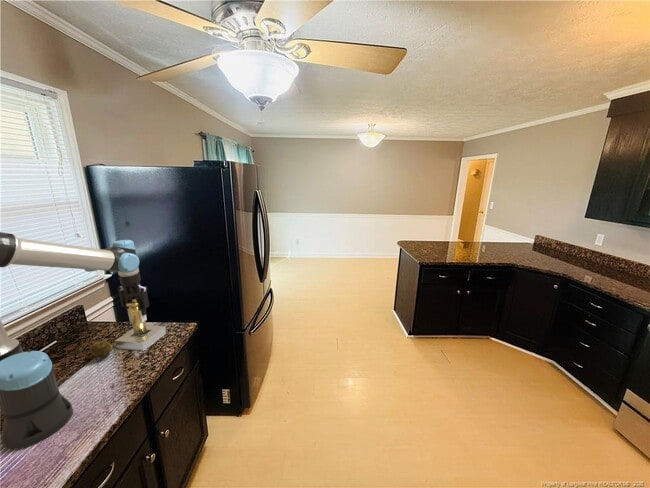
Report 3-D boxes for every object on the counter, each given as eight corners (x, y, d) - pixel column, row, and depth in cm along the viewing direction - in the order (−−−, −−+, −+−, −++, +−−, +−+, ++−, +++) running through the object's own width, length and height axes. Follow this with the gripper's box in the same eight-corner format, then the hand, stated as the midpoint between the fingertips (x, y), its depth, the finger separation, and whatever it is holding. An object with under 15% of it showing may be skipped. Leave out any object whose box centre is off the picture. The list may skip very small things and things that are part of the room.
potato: (117, 344, 123) (114, 329, 121) (111, 360, 112) (107, 344, 110) (95, 350, 119) (91, 334, 118) (86, 367, 108) (82, 350, 107)
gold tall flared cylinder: (141, 336, 122) (135, 305, 118) (129, 336, 122) (122, 304, 119) (151, 329, 128) (146, 299, 124) (140, 328, 129) (134, 298, 125)
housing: (143, 350, 119) (142, 342, 118) (116, 348, 121) (114, 340, 120) (166, 333, 132) (164, 326, 131) (141, 331, 134) (139, 324, 133)
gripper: (153, 272, 121) (161, 318, 126) (119, 270, 123) (128, 315, 129) (140, 277, 113) (149, 326, 119) (104, 276, 116) (114, 323, 121)
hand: (138, 320), depth 124 cm, fingers closed on gold tall flared cylinder, 5 cm apart
